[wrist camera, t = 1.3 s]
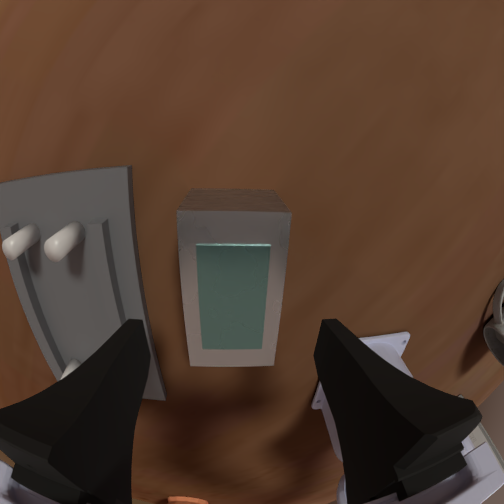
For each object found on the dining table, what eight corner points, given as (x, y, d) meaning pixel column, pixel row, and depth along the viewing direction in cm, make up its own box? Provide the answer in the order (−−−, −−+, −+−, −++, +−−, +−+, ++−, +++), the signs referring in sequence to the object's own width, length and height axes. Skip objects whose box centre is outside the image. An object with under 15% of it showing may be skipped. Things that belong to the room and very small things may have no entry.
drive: (263, 315, 20) (273, 366, 15) (196, 315, 19) (190, 367, 15) (273, 189, 16) (292, 213, 12) (191, 188, 16) (176, 211, 11)
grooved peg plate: (166, 394, 23) (161, 426, 19) (61, 377, 22) (49, 403, 18) (131, 165, 15) (105, 175, 11) (-1, 182, 14) (-33, 196, 10)
